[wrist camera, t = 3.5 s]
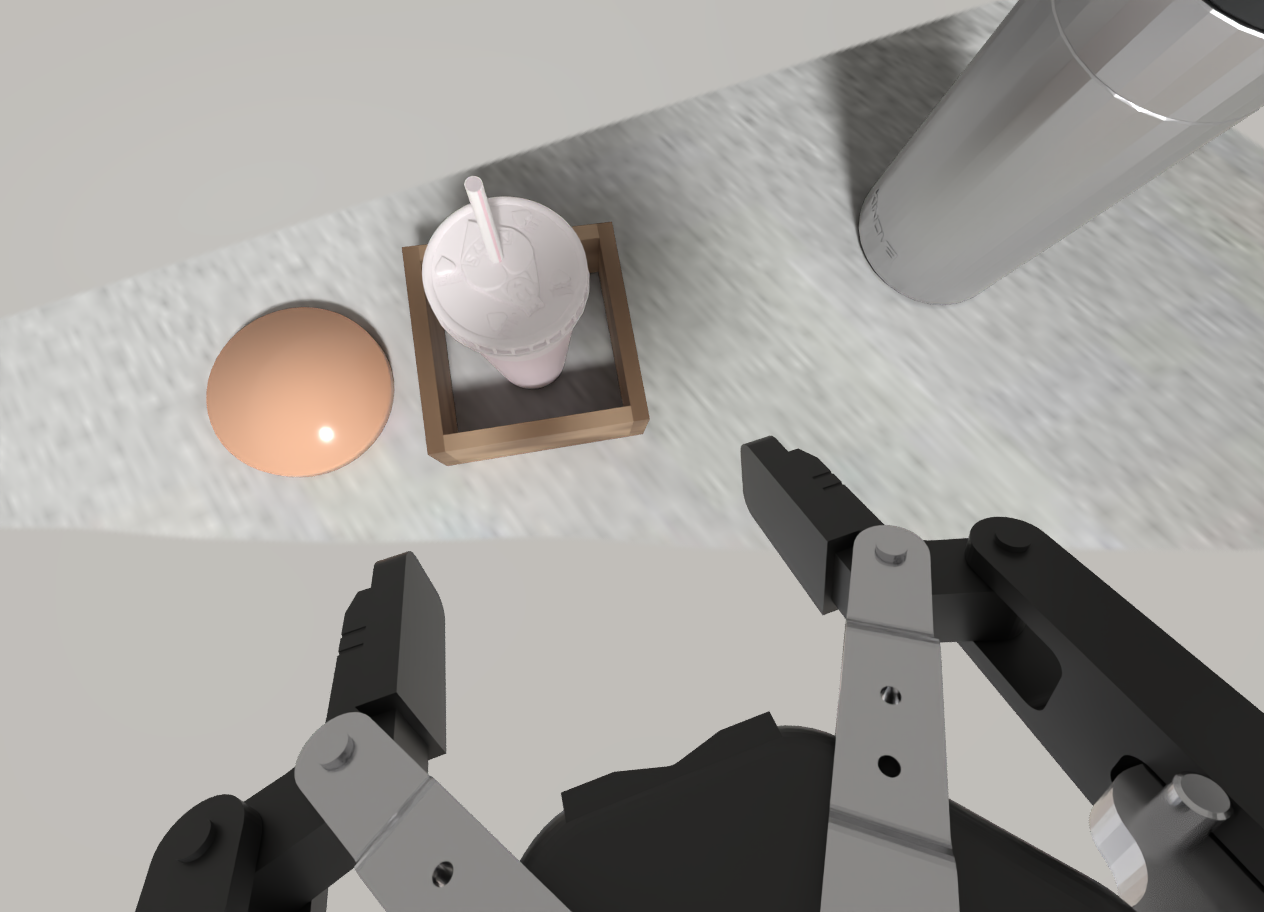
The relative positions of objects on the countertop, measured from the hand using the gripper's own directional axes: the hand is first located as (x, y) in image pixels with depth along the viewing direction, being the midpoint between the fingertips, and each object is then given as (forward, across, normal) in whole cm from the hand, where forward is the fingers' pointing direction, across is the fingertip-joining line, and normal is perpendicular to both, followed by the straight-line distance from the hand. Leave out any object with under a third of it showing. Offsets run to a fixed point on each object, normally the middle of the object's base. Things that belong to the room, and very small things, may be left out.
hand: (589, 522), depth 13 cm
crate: (+19, 0, +4) cm, 19 cm away
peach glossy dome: (+20, +12, +3) cm, 23 cm away
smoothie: (+19, 0, +4) cm, 19 cm away
